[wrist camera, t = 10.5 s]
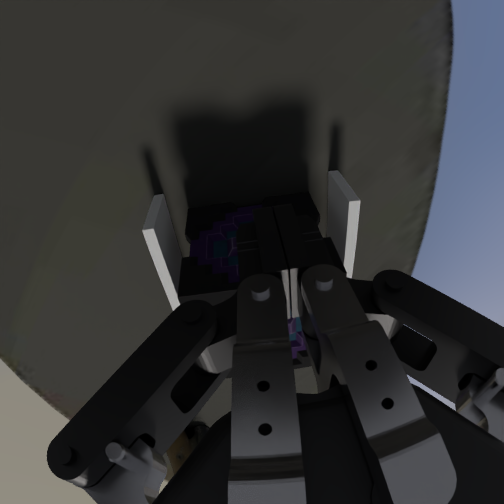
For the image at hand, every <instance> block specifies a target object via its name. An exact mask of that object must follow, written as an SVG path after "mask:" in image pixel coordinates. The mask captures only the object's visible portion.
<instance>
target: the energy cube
mask: <svg viewBox="0 0 504 504" xmlns="http://www.w3.org/2000/svg"><path fill="white" fill-rule="evenodd" d="M284 204H292V206H293V209H294V211H295V214H296V216H300V215H308V216H309V217H311V218H312V219H313V220H314V221H316V224H317V226H318V224H319V222H320V214H319V212H318V210H317V208H316V206H315V204H314V202H313V200H312V198H311V196H310V194H309V192H306V193H297V194H289V195H281V196H274V197H266V198H265V199H264V201H263V203H262V204H261V205H254V206H247V207H240V208H237V207H236V206H235V205H234V204H233V203H232V202H230V203H224V204H217V205H211V206H204V207H198V208H192V209H188V215H187V222H186V229H185V235H186V239H187V241H188V242H189V243H190V244H191V245H190V256H189V257H185V258H182V260H181V269H180V277H179V286H178V296H177V298H178V300H179V303H180V305H181V304H182V303H184V302H187V301H190V300H204V301H207V302H208V303H210V304H211V305H212V306H214V305H216V304H219V303H221V302H224V301H226V300H227V299H229V298H230V297H232V296H233V295H234V294H235V293H236V291H237V290H238V287H239V285H240V276H239V265H238V254H237V243H236V232H237V230H238V228H239V226H240V224H245V223H251V222H254V219H253V211H252V209H257V208H264V207H271V208H272V206H277V205H284ZM323 240H324V242H325V244H326V247H327V249H328V251H329V254H330V256H331V259H332V261H333V263H334V266H335V267H337V268H339V269H340V270H341V271H342V272H343V273H344V274H345V276H346V277H347V272H346V270H345V267H344V265H343V263H342V261H341V258H340V256H339V254H338V252H337V250H336V248H335V245H334V243H333V241H332V239H331V237H326V238H323ZM288 330H289V338H290V341H291V349H292V358H293V367H294V369H297V368H303V367H309V366H312V365H311V362H310V359H309V356H308V353H307V350H306V347H305V344H304V341H303V338H302V325H301V321H300V317H295V318H292V315H291V310H290V319H288ZM226 378H232V368H231V371H230V372H229V374H228V375H227V377H226Z"/></svg>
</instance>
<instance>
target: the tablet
mask: <svg viewBox="0 0 504 504" xmlns="http://www.w3.org/2000/svg"><path fill="white" fill-rule="evenodd" d="M194 430H195V434H194V436H193V437H192V438H191V439H188V437H187V435H186V433H185V431H183V432H182V433H181V434H180V435H179V437H178V438H177V439H176V440H175V441H174V443H173V444H172V445H171V446H170V447H169V449H168V450H167V451H166V452H167V456H168V458H169V460H170V463H171V466H172V469H173V473H174V475H175V474H176V472H177V471H178V470H179V468H180V467H181V466H182V464H183V463H184V462H185V460H186V459H187V458H188V457H189V455H190V454H191V453H192V451H193V450H194V449H195V447H196V446H197V445H198V443H199V442H200V440H201V439H202V438H203V436H204V435H205V434H206V432H207V431H208V430H209V428H208V427H206V426H204V425H199V426H197V427H195V428H194Z"/></svg>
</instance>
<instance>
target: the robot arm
mask: <svg viewBox="0 0 504 504" xmlns="http://www.w3.org/2000/svg"><path fill="white" fill-rule="evenodd" d="M252 211H253V219H254V222H251V223H245V224H240V226H239V228H238V230H237V232H236V243H237V254H238V265H239V276H240V285H239V287H238V290H237V291H236V293H235V294H234V295H233V296H232V297H230V298H229V299H227V300H226V301H224V302H221V303H219V304H216V305H214V306H212V305H211V304H210V303H208V302H207V301H204V300H190V301H187V302H184V303H182V304H181V305H179V306H178V307H177V308H176V309H175V310H174V311H173V312H172V313H171V314H170V315H169V316H168V317H167V318H166V319H165V320H164V321H163V322H162V323H161V324H160V325H159V327H158V328H157V329H156V330H155V331H154V332H153V333H152V334H151V335H150V336H149V337H148V338H147V339H146V340H145V341H144V342H143V343H142V344H141V345H140V347H139V348H138V349H137V350H136V351H135V352H134V353H133V354H132V355H131V356H130V357H129V358H128V359H127V360H126V361H125V362H124V363H123V365H122V366H121V367H120V368H119V369H118V370H117V371H116V372H115V373H114V374H113V375H112V376H111V377H110V378H109V379H108V380H107V382H106V383H105V384H104V385H103V386H102V387H101V388H100V389H99V390H98V391H97V392H96V393H95V394H94V395H93V397H92V398H91V399H90V400H89V401H88V402H87V403H86V404H85V405H84V406H83V407H82V408H81V410H80V411H79V412H78V413H77V414H76V415H75V416H74V417H73V418H72V419H71V420H70V421H69V423H68V424H67V425H66V426H65V427H64V428H63V429H62V430H61V431H60V432H59V433H58V435H57V436H56V437H55V438H54V439H53V440H52V441H51V443H50V445H49V447H48V451H47V462H48V465H49V468H50V469H51V471H52V472H53V473H54V474H55V475H56V476H57V477H59V478H61V479H63V480H66V481H68V482H70V483H73V484H74V485H76V486H78V487H81V488H82V489H84V490H85V491H86V492H87V493H88V494H89V495H90V496H91V497H92V498H93V499H94V500H95V501H96V503H97V504H504V327H502V326H500V325H499V324H497V323H495V322H493V321H492V320H490V319H488V318H487V317H485V316H483V315H481V314H479V313H478V312H476V311H474V310H472V309H471V308H469V307H467V306H465V305H463V304H461V303H459V302H458V301H456V300H454V299H452V298H450V297H449V296H447V295H445V294H443V293H441V292H439V291H437V290H436V289H434V288H432V287H430V286H428V285H426V284H424V283H422V282H421V281H419V280H417V279H415V278H413V277H411V276H409V275H407V274H405V273H403V272H401V271H398V270H384V271H381V272H379V273H378V274H377V275H376V276H375V277H374V279H373V281H365V280H355V279H351V278H348V277H346V276H345V274H344V273H343V272H342V271H341V270H340V269H339V268H337V267H335V266H334V263H333V261H332V259H331V256H330V254H329V251H328V249H327V247H326V244H325V242H324V240H323V237H322V235H321V233H320V231H319V228H318V226H317V224H316V221H314V220H313V219H312V218H311V217H309V216H308V215H300V216H296V214H295V211H294V209H293V206H292V204H284V205H277V206H272V208H271V207H264V208H257V209H252ZM290 310H291V315H292V318H295V317H300V321H301V325H302V338H303V341H304V344H305V347H306V350H307V353H308V356H309V359H310V362H311V365H312V369H313V372H314V375H315V378H316V382H317V388H318V394H303V393H296V386H295V377H294V367H293V358H292V349H291V341H290V338H289V330H288V319H290ZM404 324H405V325H407V326H408V327H407V326H405V325H404ZM409 327H410V328H412V329H413V330H412V329H410V328H409ZM414 330H415V331H414ZM416 331H417V332H418V333H417V332H416ZM419 333H420V334H419ZM421 334H422V335H424V336H425V337H424V336H422V335H421ZM426 337H427V338H426ZM428 338H429V339H430V340H429V339H428ZM431 340H432V341H431ZM231 368H232V406H231V411H230V412H229V413H227V414H226V415H224V416H222V417H221V418H220V419H219V420H218V421H216V422H215V423H214V424H213V425H212V426H211V427H210V428H209V430H208V431H207V432H206V434H205V435H204V436H203V438H202V439H201V440H200V442H199V443H198V445H197V446H196V447H195V449H194V450H193V451H192V453H191V454H190V455H189V457H188V458H187V459H186V460H185V462H184V463H183V464H182V466H181V467H180V468H179V470H178V471H177V472H176V474H175V475H174V476H173V477H172V479H171V480H170V481H169V482H168V484H167V485H166V486H165V488H164V489H163V490H162V491H161V493H160V494H159V488H160V486H161V484H162V482H163V480H164V479H165V476H166V473H167V466H166V462H165V460H164V458H163V454H164V453H165V452H166V451H167V450H168V449H169V447H170V446H171V445H172V444H173V443H174V441H175V440H176V439H177V438H178V437H179V435H180V434H181V433H182V432H183V431H184V429H185V428H186V427H187V426H188V424H189V423H190V422H191V421H192V419H193V418H194V417H195V416H196V415H197V413H198V412H199V411H200V410H201V408H202V407H203V406H204V405H205V403H206V402H207V401H208V400H209V398H210V397H211V396H212V394H213V393H214V392H215V391H216V389H217V388H218V387H219V386H220V384H221V383H222V382H223V380H224V379H225V378H226V377H227V375H228V374H229V372H230V371H231ZM406 374H407V375H409V376H410V377H412V378H414V379H415V380H417V381H419V382H420V383H422V384H423V385H425V386H427V387H428V388H430V389H432V390H433V391H435V392H437V393H438V394H440V395H441V396H443V397H445V398H446V399H448V400H450V401H451V402H453V403H455V407H456V411H455V410H453V409H452V408H450V407H449V406H447V405H445V404H444V403H443V402H441V401H439V400H438V399H437V398H435V397H433V396H432V395H430V394H429V393H427V392H426V391H424V390H423V389H421V388H420V387H418V386H416V385H413V384H411V383H410V381H409V379H408V377H407V375H406Z"/></svg>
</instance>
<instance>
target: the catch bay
mask: <svg viewBox="0 0 504 504" xmlns="http://www.w3.org/2000/svg"><path fill="white" fill-rule="evenodd" d="M359 210H360V199H359V198H358V196H357V195H356V194H355V192H354V191H353V190H352V188H351V187H350V186H349V184H348V183H347V182H346V180H345V179H344V178H343V176H342V175H341V174H340V172H339V171H338V170H336V171H328V213H327V237H331V239H332V241H333V243H334V245H335V248H336V250H337V252H338V254H339V256H340V258H341V261H342V263H343V265H344V267H345V270H346V272H347V277H348V278H351V279H352V272H353V264H354V256H355V248H356V239H357V230H358V220H359ZM142 231H143V234H144V237H145V240H146V242H147V245H148V248H149V251H150V253H151V256H152V259H153V261H154V264H155V266H156V269H157V272H158V274H159V277H160V279H161V282H162V284H163V287H164V289H165V292H166V294H167V297H168V299H169V302H170V304H171V307H172V309H173V311H174V310H175V309H176V308H177V307H178V306H179V305H180V303H179V300H178V298H177V296H178V286H179V277H180V269H181V260H182V255H181V252H180V248H179V245H178V242H177V238H176V235H175V232H174V228H173V225H172V221H171V218H170V214H169V211H168V207H167V204H166V200H165V196H164V194H159V195H154V197H153V200H152V203H151V206H150V208H149V211H148V214H147V217H146V220H145V223H144V227H143V230H142Z"/></svg>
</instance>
